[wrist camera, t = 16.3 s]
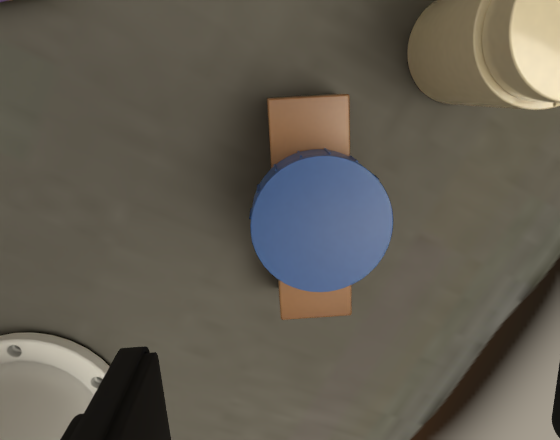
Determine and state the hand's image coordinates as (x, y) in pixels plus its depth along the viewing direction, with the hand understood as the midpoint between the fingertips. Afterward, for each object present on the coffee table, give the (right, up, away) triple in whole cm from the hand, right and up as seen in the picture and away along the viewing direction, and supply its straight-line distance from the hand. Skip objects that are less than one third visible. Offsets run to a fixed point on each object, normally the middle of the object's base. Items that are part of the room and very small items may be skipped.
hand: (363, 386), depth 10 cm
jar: (+8, +13, +14) cm, 21 cm away
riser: (0, +5, +16) cm, 17 cm away
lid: (0, +4, +11) cm, 11 cm away
